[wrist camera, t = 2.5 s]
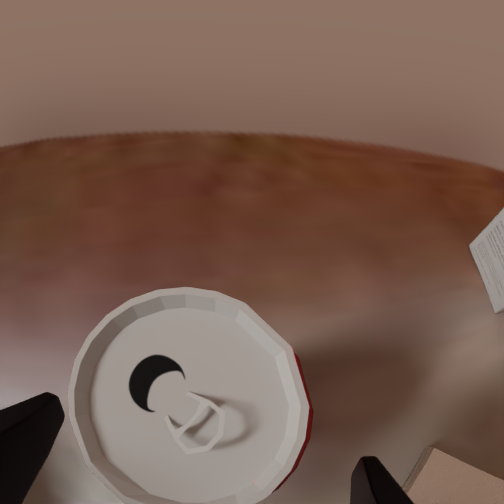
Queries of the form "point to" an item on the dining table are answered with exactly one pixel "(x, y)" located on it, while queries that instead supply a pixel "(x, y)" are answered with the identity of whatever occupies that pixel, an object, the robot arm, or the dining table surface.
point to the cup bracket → (451, 482)
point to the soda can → (189, 401)
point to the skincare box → (491, 260)
